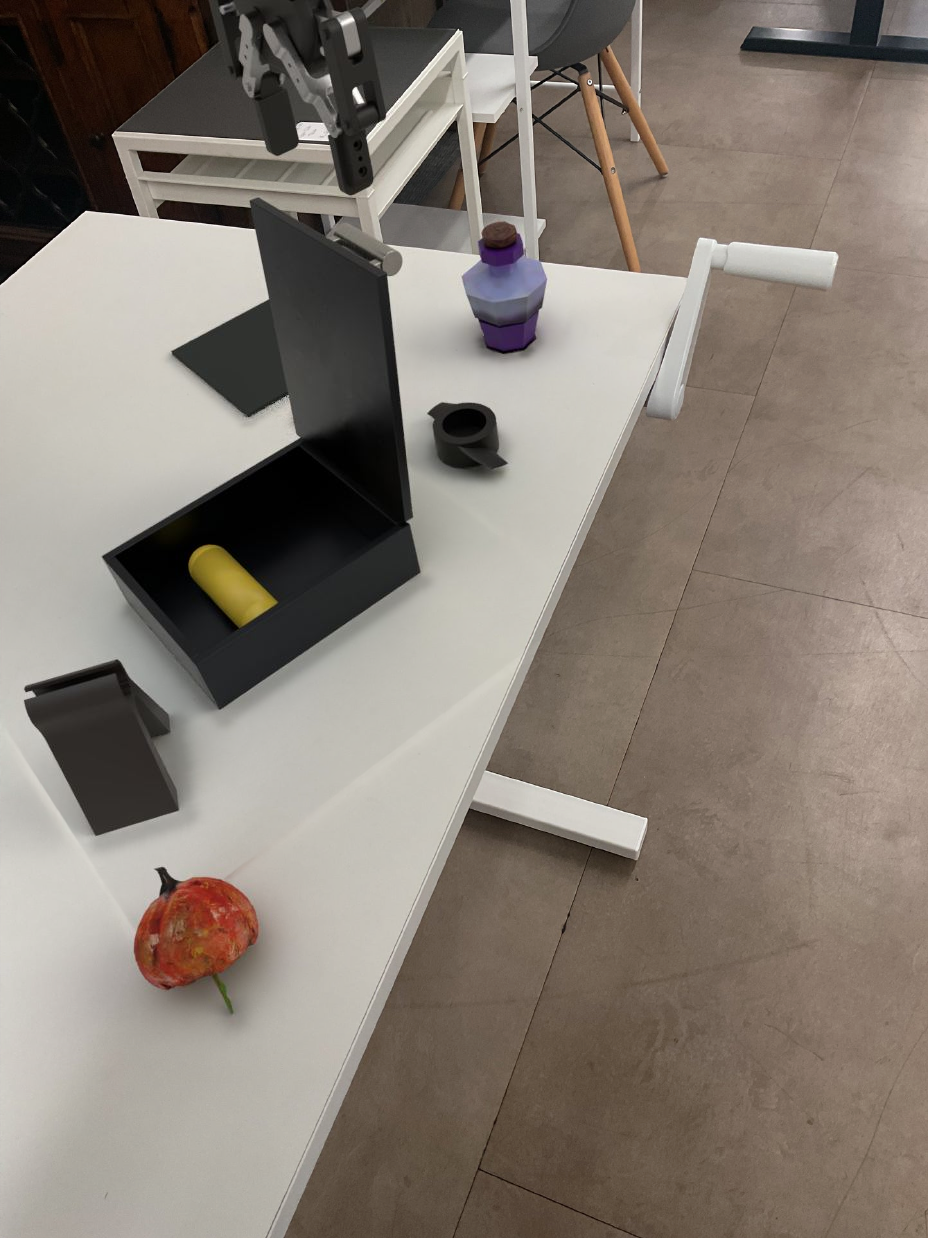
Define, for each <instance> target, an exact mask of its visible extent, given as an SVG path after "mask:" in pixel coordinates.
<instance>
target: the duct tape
mask: <svg viewBox="0 0 928 1238" xmlns="http://www.w3.org/2000/svg"><path fill="white" fill-rule="evenodd" d="M426 415H428V416H430V417H431V418H433V421H432V432H433V438H434V443H435V448H436V453H437V457H438V458H439V460H440V461H441V462H442V463H444V464H445V465H446V466H448V467H451V468H456V469H473V468H477V467H480V466H483V467H485V468H487V469H489V470H495V469H498V468H501V467H503V466H506V465H508V464H509V462H508V461H506V460H505V459H504V458H503V457H502V456H501V455H500V454H499V453H498V451H499V448H500V440H499V439H500V438H499V433H498V424H497V417H496V414H495V411H493V410H492V409H491V408H490V407H489V406H486V405H485V404H482V403H479V402H467V401H466V402H458V403H451V402H443V401H442V402H439V403H437V404H436V405H434V406H433V407H431V408H430V410H429V411H428V412H427V413H426Z"/></svg>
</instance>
